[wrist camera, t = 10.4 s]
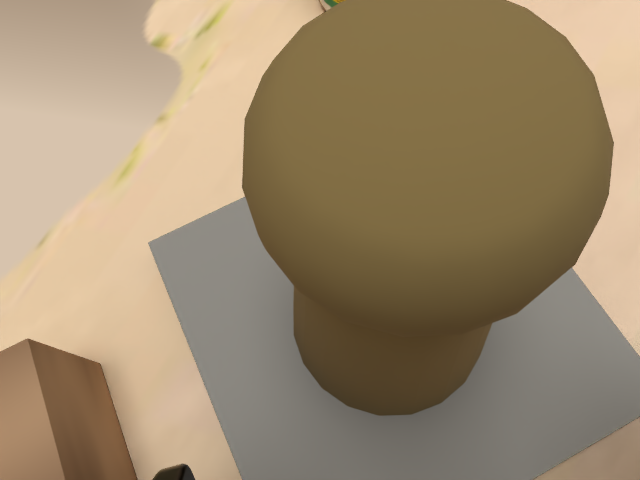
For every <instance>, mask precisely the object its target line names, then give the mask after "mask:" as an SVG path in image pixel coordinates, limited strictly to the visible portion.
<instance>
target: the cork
mask: <svg viewBox="0 0 640 480" xmlns="http://www.w3.org/2000/svg"><path fill="white" fill-rule="evenodd" d="M613 146H614V142H613V139H612V135H611V132H610V128H609V125H608V121H607V118H606V114H605V111H604V108H603V104H602V101H601V97H600V94H599V91H598V87H597V84H596V81H595V77H594V75H593V73H592V72H591V71H590V69H589V68H588V66H587V65H586V64H585V62H584V61H583V60H582V58H581V57H580V56H579V54H578V53H577V52H576V50H575V49H574V48H573V46H572V45H571V43H570V42H569V41H568V39H567V38H566V37H565V36H564V35H562V34H561V33H560V32H558V31H557V30H555V29H554V28H553V27H551V26H550V25H549V24H547V23H546V22H545V21H543V20H542V19H541V18H539V17H538V16H537V15H535V14H534V13H533V12H531V11H530V10H528V9H527V8H525V7H522V6H520V5H517V4H515V3H512V2H510V1H507V0H345V1H342V2H340V3H338V4H337V5H335V6H334V7H332V8H330V9H329V10H327V11H326V12H324V13H323V14H321V15H319V16H318V17H316V18H315V19H313V20H312V21H310V22H308V23H307V24H305V25H304V26H302V28H301V29H300V30H299V31H298V32H297V33H296V35H295V36H294V37H293V38H292V39H291V40H290V41H289V43H288V44H287V45H286V46H285V47H284V48H283V49H282V51H281V52H280V53H279V54H278V55H277V56H276V57H275V59H274V60H273V61H272V63H271V64H270V66H269V67H268V69H267V70H266V72H265V73H264V75H263V76H262V79H261V81H260V83H259V86H258V88H257V91H256V93H255V96H254V98H253V100H252V103H251V105H250V108H249V110H248V112H247V115H246V117H245V127H244V152H243V179H242V188H243V191H244V194H245V197H246V200H247V203H248V206H249V209H250V212H251V215H252V218H253V221H254V224H255V227H256V230H257V233H258V236H259V238H260V240H261V242H262V244H263V246H264V248H265V249H266V251H267V252H268V254H269V255H270V256H271V257H272V259H273V260H274V261H275V262H276V264H277V265H278V266H279V268H280V269H281V270H282V271H283V273H284V274H285V275H286V276H287V278H288V279H289V280H290V281H291V283H292V284H293V285H294V300H293V322H294V337H295V340H296V343H297V346H298V349H299V352H300V355H301V358H302V361H303V364H304V365H305V366H306V368H307V369H308V370H309V372H310V373H311V374H312V376H313V377H314V378H315V380H316V381H317V382H318V384H319V385H320V386H321V388H322V389H324V390H325V391H327V392H328V393H330V394H331V395H332V396H334V397H335V398H337V399H338V400H340V401H341V402H342V403H344V404H345V405H347V406H348V407H352V408H355V409H358V410H362V411H365V412H368V413H371V414H375V415H378V416H386V415H412V414H414V413H417V412H419V411H422V410H425V409H427V408H430V407H432V406H435V405H438V404H440V403H442V402H443V401H444V400H445V399H447V398H448V397H449V396H450V395H451V394H452V393H453V392H455V391H456V390H457V389H458V388H459V387H460V386H462V385H463V384H464V383H465V382H466V380H467V378H468V376H469V374H470V373H471V371H472V369H473V367H474V366H475V364H476V362H477V360H478V359H479V357H480V355H481V352H482V349H483V347H484V344H485V341H486V339H487V336H488V333H489V331H490V328H491V325H492V323H494V322H496V321H499V320H502V319H504V318H507V317H510V316H512V315H515V314H517V313H518V312H519V311H521V310H522V309H523V308H524V307H525V306H527V305H528V304H529V303H530V302H531V301H533V300H534V299H535V298H536V297H537V296H539V295H540V294H541V293H542V292H543V291H544V290H546V289H547V288H548V287H549V286H550V285H552V284H553V283H554V282H555V281H556V280H557V279H559V278H560V277H561V276H562V275H563V274H565V273H566V272H567V271H568V270H569V269H570V268H572V267H573V266H574V265H575V264H576V262H577V260H578V258H579V256H580V254H581V253H582V251H583V249H584V247H585V245H586V243H587V241H588V239H589V238H590V236H591V234H592V232H593V230H594V228H595V226H596V225H597V223H598V221H599V219H600V217H601V215H602V212H603V209H604V206H605V203H606V201H607V198H608V195H609V187H610V177H611V166H612V156H613Z"/></svg>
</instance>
